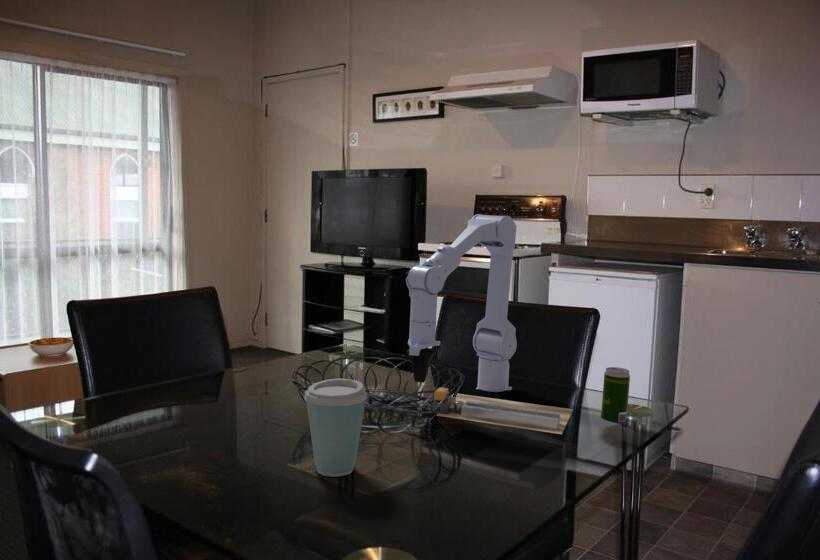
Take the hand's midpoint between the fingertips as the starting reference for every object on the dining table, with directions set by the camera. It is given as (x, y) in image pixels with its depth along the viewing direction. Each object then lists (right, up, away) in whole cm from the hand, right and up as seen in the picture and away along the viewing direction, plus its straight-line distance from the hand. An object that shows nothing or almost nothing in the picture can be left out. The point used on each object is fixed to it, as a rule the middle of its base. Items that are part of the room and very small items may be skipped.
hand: (420, 381), depth 157 cm
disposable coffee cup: (-15, -10, -35) cm, 40 cm away
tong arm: (+18, -7, -5) cm, 20 cm away
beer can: (+42, -9, -1) cm, 43 cm away
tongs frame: (+16, -7, -5) cm, 18 cm away
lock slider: (+5, -3, -1) cm, 6 cm away
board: (+18, -8, 0) cm, 20 cm away
